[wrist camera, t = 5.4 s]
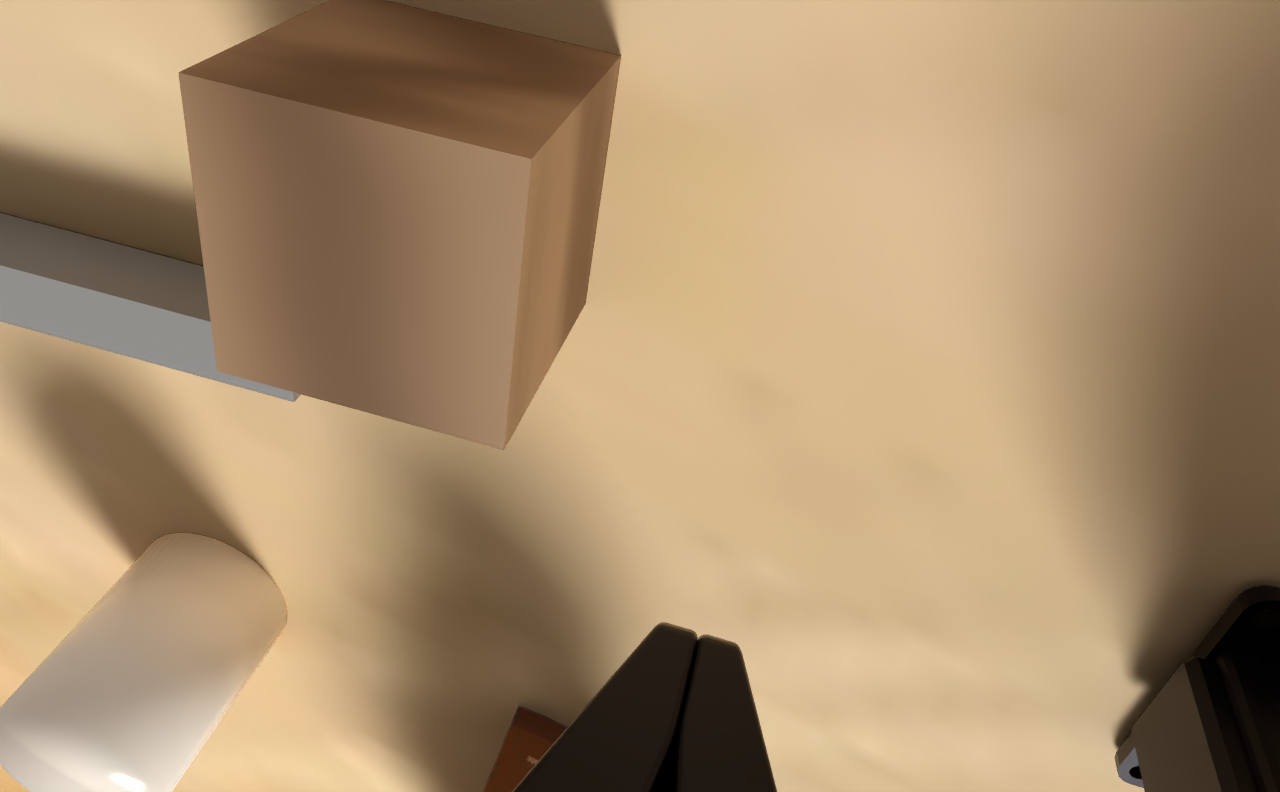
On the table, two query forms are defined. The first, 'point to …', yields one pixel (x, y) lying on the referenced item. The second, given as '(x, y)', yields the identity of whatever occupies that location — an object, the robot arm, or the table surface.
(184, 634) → the white rounded cylinder
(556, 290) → the walnut block
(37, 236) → the grey bay
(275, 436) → the table surface
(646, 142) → the table surface
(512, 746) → the food container
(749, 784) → the robot arm
